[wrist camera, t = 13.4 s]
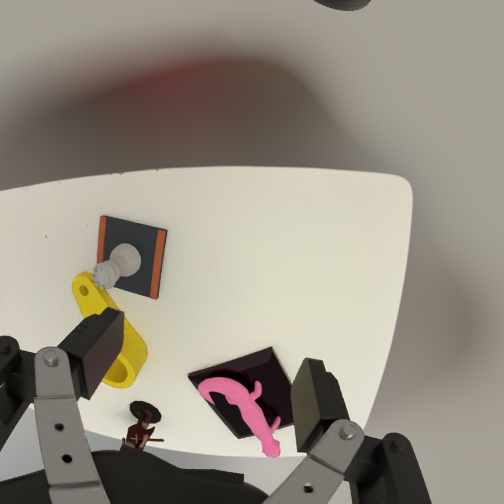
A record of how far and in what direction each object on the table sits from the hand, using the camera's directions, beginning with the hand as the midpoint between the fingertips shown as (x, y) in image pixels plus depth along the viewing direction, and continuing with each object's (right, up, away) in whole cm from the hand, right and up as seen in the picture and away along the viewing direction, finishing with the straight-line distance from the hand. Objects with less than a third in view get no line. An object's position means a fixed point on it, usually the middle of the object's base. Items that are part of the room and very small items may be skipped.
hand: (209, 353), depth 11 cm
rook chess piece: (-15, +3, +25) cm, 30 cm away
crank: (-21, -7, +29) cm, 37 cm away
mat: (-15, +4, +26) cm, 30 cm away
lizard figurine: (+2, -21, +33) cm, 39 cm away
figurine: (-19, -27, +35) cm, 48 cm away
